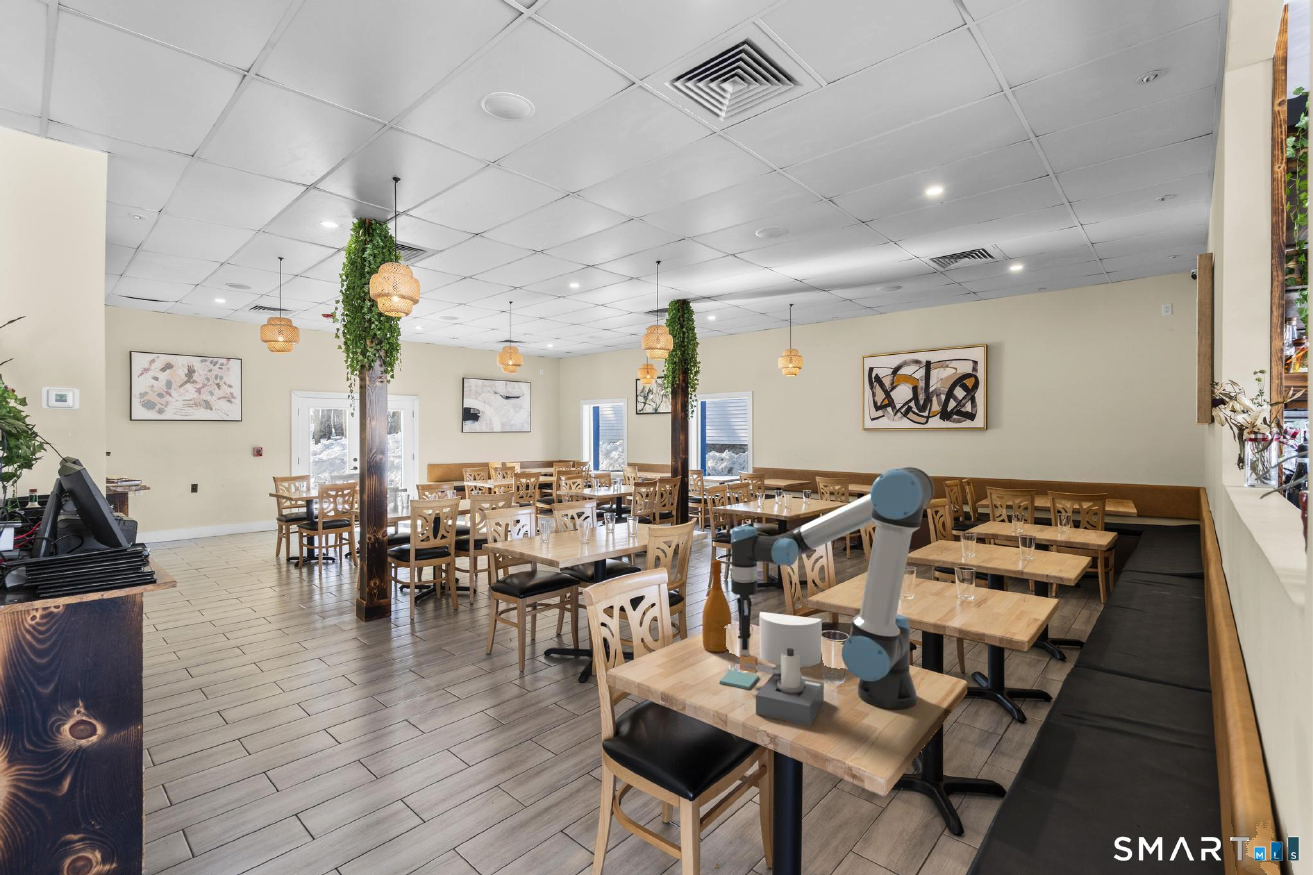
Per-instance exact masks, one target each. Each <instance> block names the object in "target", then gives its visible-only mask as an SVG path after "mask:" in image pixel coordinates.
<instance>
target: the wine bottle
mask: <svg viewBox="0 0 1313 875" xmlns="http://www.w3.org/2000/svg"><path fill="white" fill-rule="evenodd" d="M722 572H723V571H722V561H721V560H720V559H712V561H711V573H712V584H711V586H710V588H709V589H707V591H706V594H705V597H706V600H705V603H704V607H703V609H702V624H701V626H702V646H703V648H704V649H705V650H707V651H709V652H713V653H723V652H727V651H728V650H727V647H726V628H724V627H725V626H726V625H728V624H731V625H732V612H731V608H730V604H729V602H728V600H727V597H726V595H725V593H724V590H723V588H722V576H721V574H722ZM726 650H727V651H726Z"/></svg>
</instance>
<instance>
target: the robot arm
mask: <svg viewBox="0 0 1313 875" xmlns="http://www.w3.org/2000/svg"><path fill="white" fill-rule="evenodd" d="M934 495H935V484H934V482H933V480H932V478H931V477H930V475H929V474H928V473H926V472H925V471H924V470H922V469H920V468H917V467H912V466H911V467H910V466H907V467H902V468H893V469H889V470H887V471H885V472H883V473H882V474H881V475H879V476H878V477H877V478H876V479H875V480H874V482H873V483H872V485H871V487H870V492H869V493H867V494H866V495H864V496H861V497H859V498H857V499H855V500H853V501H851V502H849V503H847V504H845V505H843V506H840V507H838V508H837V509H835V510H832V511H830V512H828V513H826V514H824V515H822V516H819V517H817V518H815V519H813V520H812V521H809V522H807V523H805V524H803V525H801V526H799V527H796V528H794V529H791V530H790V531H788V532H785V533H781V534H778V535H776V536H767V535H760V534H758V531H757V530H758V529H757V528H756V527H755V526H754V527H753V526H749V525H745V526H744V525H742V526H741V525H739V526H734V527H733V528H732V529H731V535H730V536H731V540H730V544H731V545H730V546H731V548H730V550H731V551H730V552H731V564H730V565H731V568H729V572H731V579H732V580H731V582H730V584H731V586H730V587H731V590H730V591H731V593H732V594H734V595H736V596H739V597H736V603H737V612H738V632H739V635H737V639H739V656H740V655H741V654H742V655H747V656H750V639H751V636H752V634H751V613H752V604H753V602H752V600H751V597H750V596H753V595H756V594H757V592H758V581H757V580H758V562H759V563H764V564H772V565H777V566H793V565H794V564H795V563H796V561H797V559H798V558H799V557H800V556H803V555H805V554H807V553H808V552H809V551H813V550H814V549H816V548H819V547H821V546H823V545H825V544H828V543H830V542H832V541H833V542H834V541H835V540H837V539H839V538H841V537H844V536H846V535H848V534H850V533H852V532H855V531H858V530H859V529H862V528H864V527H867V526H868V525H871V524H873V523H874V524H875V531H874V535H873V541H872V546H871V551H870V552H871V553H870V558H869V563H868V568H867V572H866V573H867V574H866V579H865V584H864V588H863V589H864V590H863V594H862V595H863V596H862V601H861V605H860V606H861V607H860V612H859V613H858V614H857V615H855V616H853V618H852V620H851V621H852V622H851V627H850V631H849V637H848V638H847V639H845V641H844V642H843V643H844V644H843V646H842V648H841V658H842V661H843V664H844V665H845V667H846V668H847V670H848V671H849V672H850V674H852V675H853V676H855V677H856V678H858V679H859V680H858V683H857V684H858V685H857V695H858V697H859V698H860V699H861V700H863V701H864V702H865V703H867V704H871V705H872V706H876V707H879V708H884V709H891V710H903V709H904V710H905V709H909V708H912V707H914V706H915V705H916V704H917V691H916V688H915V685H914V681H913V678H912V675H911V672H910V659H911V658H910V653H911V652H910V649H911V648H910V647H911V646H910V644H911V643H910V636H911V635H910V631H911V628H910V621H909V619H908V618H907V617H906V616H904V615H903V614H902V615H901V614H898V609H899V604H900V599H901V598H900V597H901V595H902V594H901V592H902V588H903V582H904V577H905V572H906V566H907V562H908V556H909V551H910V546H911V541H912V536H913V533H914V532H915V531H917V530H919V529H920V528H921V524H922V519H923V513H924V509H925V508H927V507H928V506H929V505H930V504H931V502H932V500H933V499H934Z"/></svg>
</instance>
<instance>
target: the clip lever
mask: <svg viewBox="0 0 1313 875" xmlns="http://www.w3.org/2000/svg"><path fill="white" fill-rule="evenodd" d="M739 670H741V671H745V672H747V673H751V674H757V673H758V671H759V672H764V673H769V674H771V675H775V676H781V666H779V665H775V666H773V667H771V666H767V665H763V664H758V657H756V656H750V655H749V656H747V655H742V654H741V655H740V654H739ZM802 678H803V675H802V673H800V680H801V679H802Z"/></svg>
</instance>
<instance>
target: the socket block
mask: <svg viewBox="0 0 1313 875" xmlns="http://www.w3.org/2000/svg"><path fill="white" fill-rule="evenodd" d="M779 680H781V676H775V675H773V674H771V675H770V677H769V678H768V680H767V681H766V682H765V683H764V684H763V686H762V687H761V688H760V689H759V690H758V691H757V693H756V694H755V715H758V716H762V717H766V718H767V717H768V718H771V719H775V720H776V719H777V720H781V721H784V722H785V721H786V722H790V723H794V724H799V725H804V726H808V727H810V726H811V725H812V723H813V721H814V719H815V717H816V715H817V714H818V712H819V710H820V708H821V706H822V704H823V703H824V701H825V700H824V699H825V697H824V696H825V695H824V694H825V693H824V692H825V690H824V689H825V685H824V682H823V681H818V680H815V679H814V680H813V679H807V678H803V677H802V679H801V680H800V681H801V682H802V683H803V684H804V691H803V692H801V693H800V696H798V695H793V694H788V693H783V692H781V691H780V690H779V689H778V688H777V682H778V681H779Z"/></svg>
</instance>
